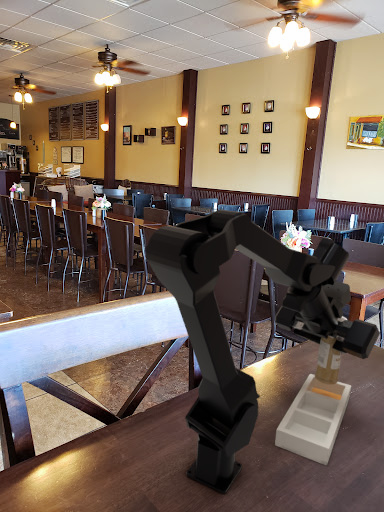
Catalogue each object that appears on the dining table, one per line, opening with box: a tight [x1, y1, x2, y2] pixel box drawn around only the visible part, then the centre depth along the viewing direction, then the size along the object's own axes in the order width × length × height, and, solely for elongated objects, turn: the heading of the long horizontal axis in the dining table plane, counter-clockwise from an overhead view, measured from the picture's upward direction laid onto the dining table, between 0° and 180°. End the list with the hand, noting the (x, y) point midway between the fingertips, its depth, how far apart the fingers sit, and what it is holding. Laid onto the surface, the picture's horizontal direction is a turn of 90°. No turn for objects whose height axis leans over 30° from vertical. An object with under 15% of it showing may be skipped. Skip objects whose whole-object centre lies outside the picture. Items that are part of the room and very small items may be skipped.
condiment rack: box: [274, 373, 352, 466], centre depth 74 cm, size 24×8×3 cm, turn 150°
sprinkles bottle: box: [314, 315, 348, 385], centre depth 78 cm, size 5×5×13 cm
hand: (334, 347), depth 79 cm, fingers closed on sprinkles bottle, 4 cm apart
